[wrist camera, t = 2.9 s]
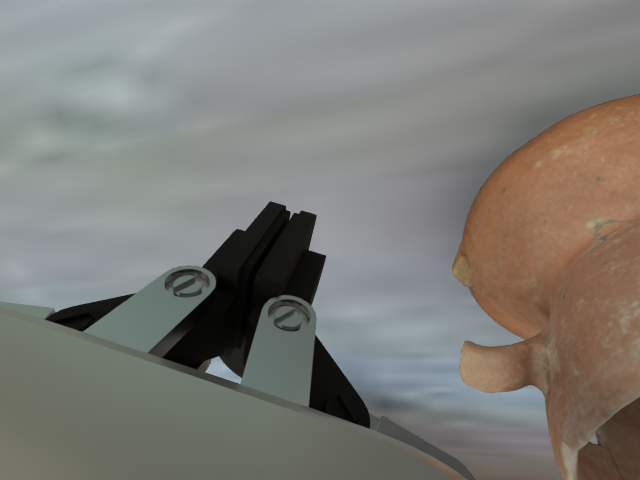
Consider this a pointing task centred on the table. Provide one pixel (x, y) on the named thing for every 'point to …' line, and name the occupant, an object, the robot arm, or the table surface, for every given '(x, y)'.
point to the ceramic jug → (565, 284)
